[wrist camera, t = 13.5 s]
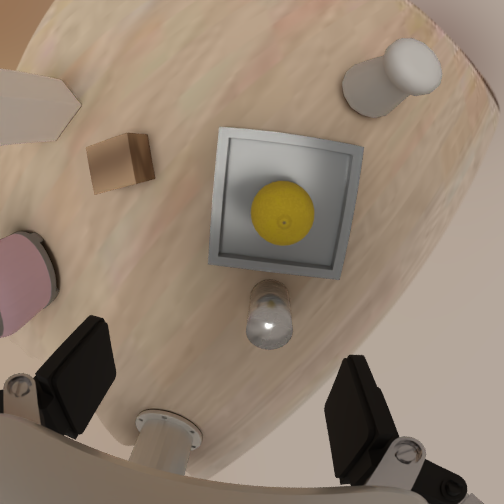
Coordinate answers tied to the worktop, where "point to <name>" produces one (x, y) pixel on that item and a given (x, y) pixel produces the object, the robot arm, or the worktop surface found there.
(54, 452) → the robot arm
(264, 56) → the worktop surface
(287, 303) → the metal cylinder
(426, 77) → the salt shaker
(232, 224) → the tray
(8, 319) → the blender
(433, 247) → the worktop surface
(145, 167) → the walnut block
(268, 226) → the lemon
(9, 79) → the milk
